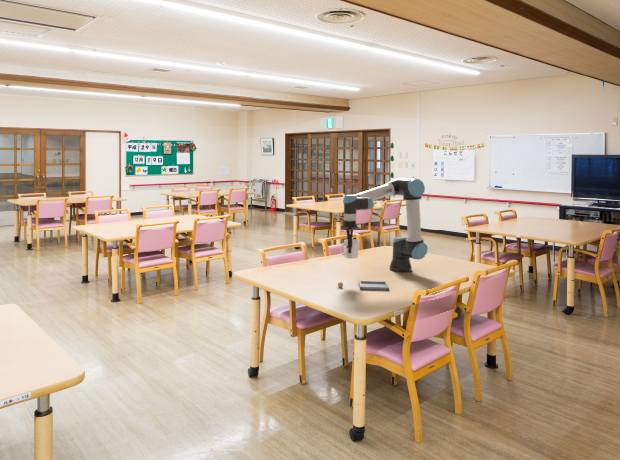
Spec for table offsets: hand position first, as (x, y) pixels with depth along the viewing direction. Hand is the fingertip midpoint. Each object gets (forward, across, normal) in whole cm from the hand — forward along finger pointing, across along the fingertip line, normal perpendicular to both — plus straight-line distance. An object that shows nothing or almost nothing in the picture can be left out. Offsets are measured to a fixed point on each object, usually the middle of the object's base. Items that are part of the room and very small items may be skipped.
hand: (349, 256), depth 300 cm
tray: (+17, +8, +15) cm, 24 cm away
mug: (+1, +1, 0) cm, 1 cm away
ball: (+17, +11, -5) cm, 21 cm away
